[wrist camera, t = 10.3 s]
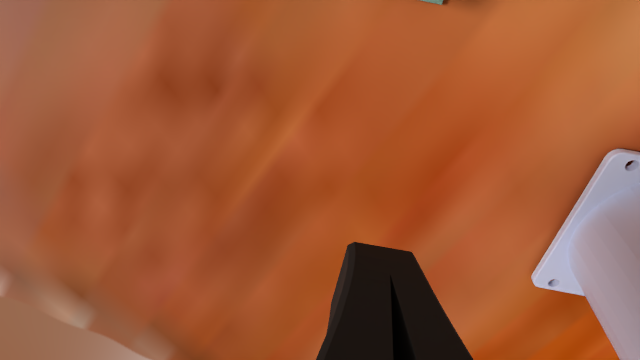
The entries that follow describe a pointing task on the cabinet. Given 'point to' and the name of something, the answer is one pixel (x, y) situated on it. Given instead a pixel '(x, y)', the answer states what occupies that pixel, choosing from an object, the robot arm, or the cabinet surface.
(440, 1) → the frame
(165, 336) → the cabinet surface
